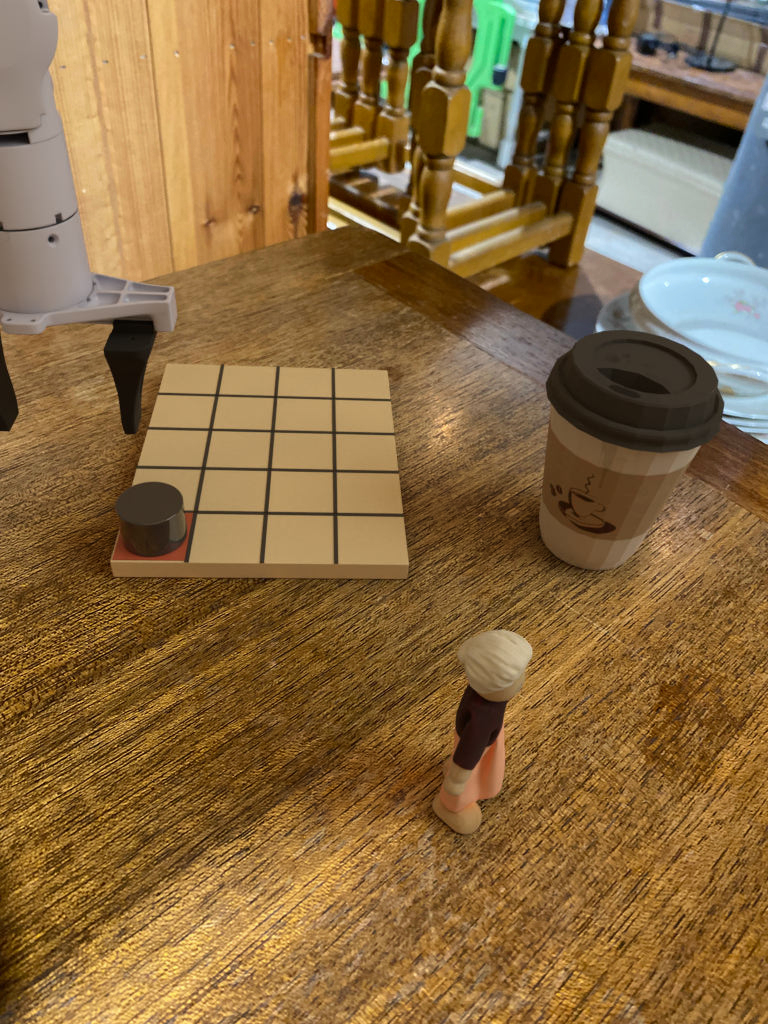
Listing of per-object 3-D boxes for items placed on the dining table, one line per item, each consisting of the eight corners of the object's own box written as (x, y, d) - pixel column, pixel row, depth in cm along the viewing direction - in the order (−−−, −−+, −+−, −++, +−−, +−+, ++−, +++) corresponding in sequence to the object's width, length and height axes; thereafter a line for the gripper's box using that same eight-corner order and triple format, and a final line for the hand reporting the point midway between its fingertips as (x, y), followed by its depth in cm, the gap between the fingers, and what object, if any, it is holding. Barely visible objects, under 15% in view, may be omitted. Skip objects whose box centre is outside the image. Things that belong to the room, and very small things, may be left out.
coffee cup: (486, 549, 57) (524, 373, 47) (546, 471, 65) (590, 304, 55) (634, 617, 53) (711, 440, 43) (680, 525, 61) (754, 357, 51)
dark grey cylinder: (115, 557, 52) (108, 524, 50) (128, 513, 55) (121, 480, 53) (183, 557, 52) (178, 525, 50) (191, 513, 56) (187, 481, 54)
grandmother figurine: (495, 859, 40) (547, 720, 32) (421, 845, 40) (454, 703, 32) (502, 731, 46) (548, 584, 37) (438, 719, 46) (469, 571, 38)
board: (113, 577, 53) (109, 560, 52) (168, 377, 71) (166, 362, 70) (407, 579, 54) (409, 563, 53) (386, 383, 73) (387, 369, 72)
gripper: (-163, 234, 37) (-72, 460, 46) (150, 248, 38) (179, 465, 47) (-103, 181, 42) (-32, 393, 51) (171, 195, 43) (193, 399, 52)
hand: (71, 423), depth 50 cm, fingers open, 7 cm apart
